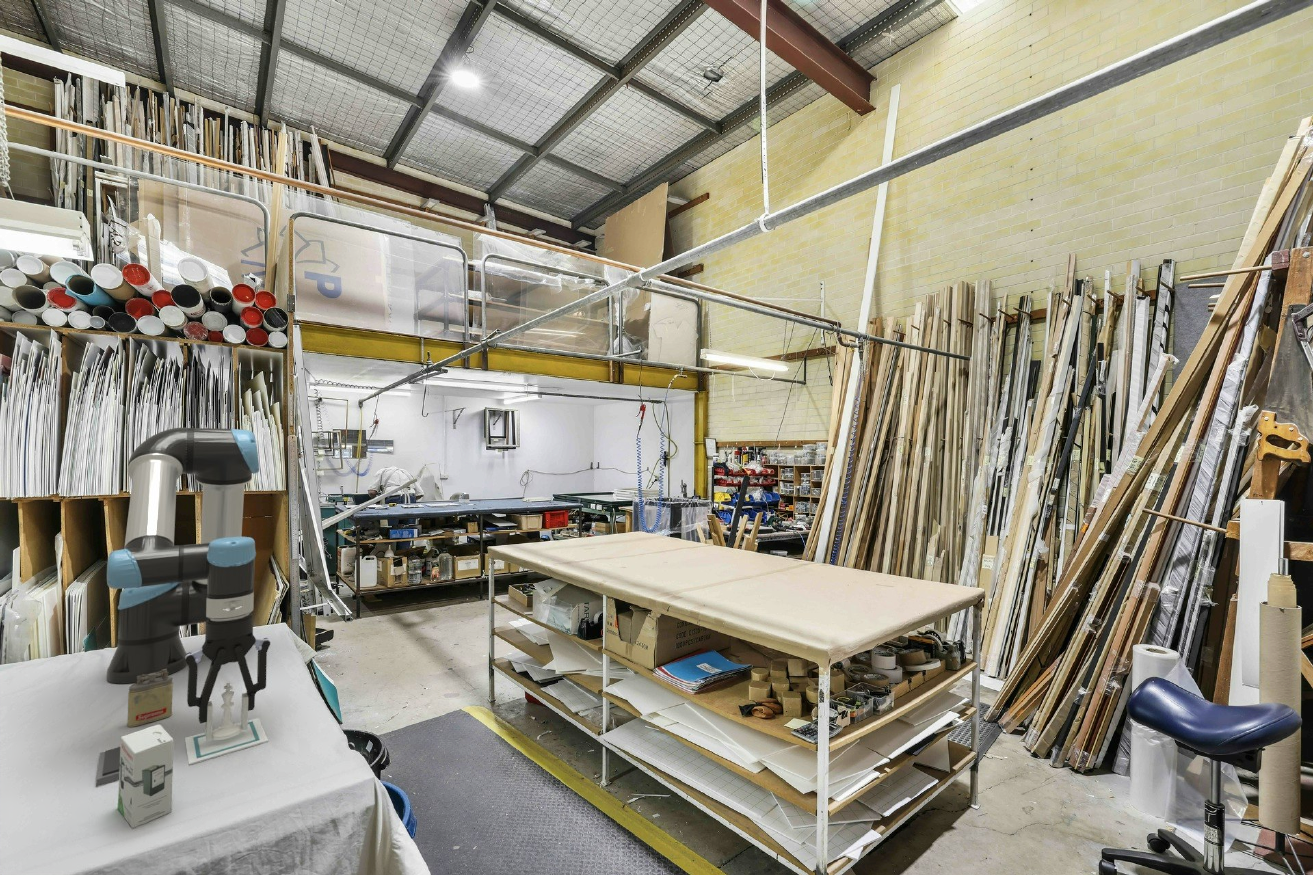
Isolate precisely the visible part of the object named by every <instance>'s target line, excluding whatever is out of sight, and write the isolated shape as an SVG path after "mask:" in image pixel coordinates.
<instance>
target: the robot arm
mask: <svg viewBox="0 0 1313 875" xmlns="http://www.w3.org/2000/svg"><path fill="white" fill-rule="evenodd" d="M259 472H260V461H259V453H258V446H257V439H256V436H255V434H254V432H253V431H251V430H248V429H237V428H236V429H235V428H234V427H233V428H212V427H211V428H210V427H209V428H205V427H204V428H203V427H198V428H197V427H193V428H192V427H173V428H169V429H166V430H162V431H159V432H158V433H155V434H154V435H151V436H150V437H147V439H146V440H144V441H143V442H141V443H140V444H138V447H136V448H135V449H134V451H133V452H132V454H131V456H130V458H129V460H128V464H127V474H128V477H129V478H130V479H131V480H132V482H131V489H130V498H129V505H128V507H129V508H128V516H127V522H126V523H127V525H126V531H125V532H126V533H125V539H124V540H125V541H124V547H123V548H122V549H118V550H113V551H111V552H110V553H109V554H108V557H107V565H106V567H107V568H106V583H107V586H108V588H111V589H115V590H117V589H123V590H122V591H121V592H120V594H119V602H118V606H117V609H118V628H117V630H118V632H117V634H118V635H117V647H116V649H115V652H114V654H113V656H112V659H111V661H110V663H109V665H108V668H107V671H106V681H107V682H108V683H111V684H135V683H136V682H137V676H140V675H147V674H151V673H155V672H159V671H162V670H163V669H167V672H168V676H169V675H171V674H174V673H176V672H178V671H180V670H182V669H184V668H185V667H186V666H188V672H187V674H188V675H187V692H186V693H187V694H186V695H187V698H186V703H187V706H188V708H193V707H197V708H198V722H199V724H205V732H206V734H205V735H206V740H211V739H212V730H213V713H214V712H213V711H214V710H213V709H214V708H213V703H212V700H210V699H211V695H212V693H213V690H214V686H215V683H216V681H217V678H218V675H219V673H220V670H221V668H222V666H223V665H224V666H225V665H227V664H229V663H237V664H238V667H239V671H240V673H241V677H242V681H243V682H244V687H245V689H246V692H243V693H241V710H240V711H241V715H240V723H241V726H242V730H247V728H248V721H249V719H248V718H249V712H250V711H251V712H252V711H253V710H254V709H255V704H256V703H255V702H256V700H255V699H256V694H257V692H260V691H261V690H265V689H266V687H267V666H268V665H267V661H268V660H267V658H268V657H267V655H268V650H269V648H270V646H271V641H270V640H269V638H268V637H265V638H263V639H262V638H256V637H255V635H254V614H253V613H252V612H253V611H254V605H255V604H254V598H255V597H254V596H255V595H254V594H255V587H254V585H255V567H256V566H255V564H256V563H255V562H256V557H257V552H256V542H255V540H254V538H253V537H249V536H248V537H247V536H242V535H243V534H242V533H243V532H242V531H243V516H244V502H245V501H244V498H245V485H247V484H248V483H249V482H251V481H252V480H253V474H257V473H259ZM183 474H185V475H195V481H196V482H197V483H198V484H200V485H201V486H202V500H201V501H202V502H201V503H202V505H201V507H202V508H201V527H200V528H201V530H200V543H195V544H194V543H193V544H181V545H175V529H176V526H175V524H176V505H177V504H176V502H177V500H176V499H177V481H178V480H179V478H181V476H182V475H183ZM203 623H204V624H205V633H204V634H205V635H204V636H205V637H204V638H205V640H204V643H203V645H202V646H201V648H200V649H198V650H195V651H193V652H188V653H187V651H186V649H185V647H184V644H183V642H182V640H181V638H180V627H183V626H189V625H196V624H197V625H198V624H203ZM253 646H255V649H256V651H257V677H256V678H257V679H256V683H254V682H253V679H252V675H251V673H250V669H249V666H248V662H247V658H246V655H248V653H249V652H250V650H251V649H252V648H253ZM203 655H204V656H205V657H207V659H209V661H211V663H210V666H209V670H208V673H207V676H206V679H205V682H204V685H203V687H202V691H201V694H200V696H199V697H198V695H197V692H198V691H197V690H198V670H199V669H198V668H199V667H198V664H199V663H200V662H201V660H202V657H203ZM157 674H158V673H157ZM161 677H162V676H160V677H157V678H161ZM144 681H148V680H143V681H142V682H144Z"/></svg>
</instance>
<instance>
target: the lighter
mask: <svg viewBox="0 0 1313 875" xmlns="http://www.w3.org/2000/svg"><path fill="white" fill-rule="evenodd" d="M157 673H158V674H157ZM160 676H162V677H160ZM157 677H159V678H157ZM143 680H147V681H143ZM173 684H174V682H173V677H172V676H169V675H168V672H167V669H163V670H162V671H159V672H155V673H151V674H147V675H140V676H137V682H135V683H132V685H130V686H129V687H128V698H127V700H128V702H127V723H126V726H127V727H129V728H130V727H139V726H142V725H145V724H149V723H151V722H156V721H159V720H162V719H166V718H168V717H171V715H173V691H174V690H173V686H174V685H173Z"/></svg>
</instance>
